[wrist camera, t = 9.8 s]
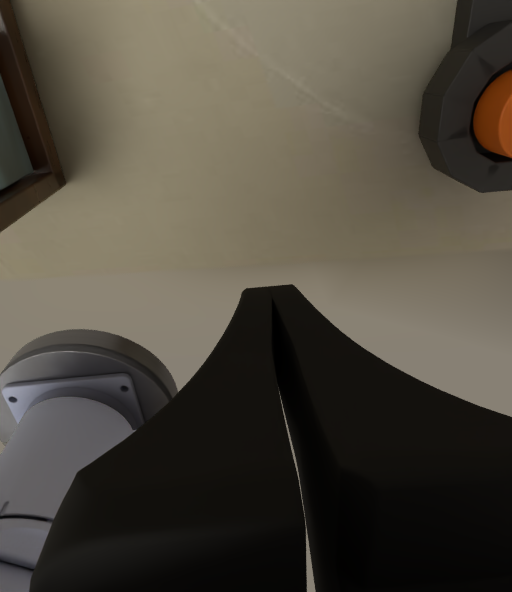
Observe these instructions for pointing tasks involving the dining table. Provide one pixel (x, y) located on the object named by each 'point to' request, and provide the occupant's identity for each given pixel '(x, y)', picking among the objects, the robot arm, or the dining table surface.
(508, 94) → the button
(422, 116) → the button block
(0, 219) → the brown wooden rack
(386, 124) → the dining table surface
